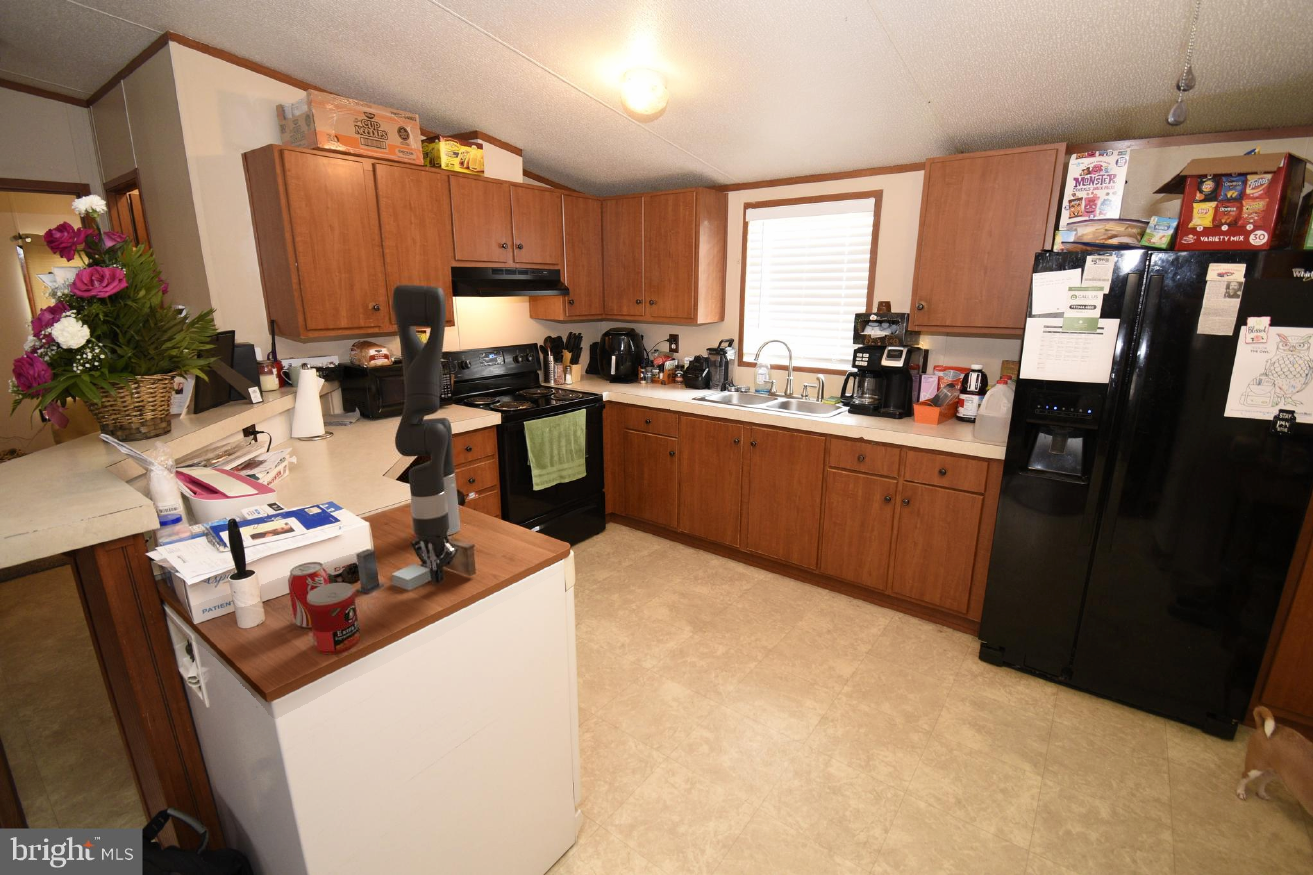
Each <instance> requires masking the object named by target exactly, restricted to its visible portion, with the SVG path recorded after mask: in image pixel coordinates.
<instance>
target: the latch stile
mask: <svg viewBox="0 0 1313 875" xmlns="http://www.w3.org/2000/svg"><path fill="white" fill-rule="evenodd" d="M355 556H356V561H357V569H358V576H359V578H358V579H359V584H360V586H359V587H357V588H355V591H357V592H360V593H363V594H366V595H369V594H371V593H374V592H376V591H377V590H379V589H381V588H384V587H385V583H381V582H380V580H379V579H380V578H379V573H378V572H379V571H378V566H377V564H378V563H377V558H376V551H375V550H373V549H369V548H367V549H365V550H362V551H360V552H357V553H356V554H355Z"/></svg>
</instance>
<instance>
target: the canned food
mask: <svg viewBox="0 0 1313 875" xmlns="http://www.w3.org/2000/svg"><path fill="white" fill-rule="evenodd" d="M307 603H308V610H309V616H310V622H311V627H310V628H311V634H312V638H313V645H314V648H315V649H316V650H318V651H319V653H320V652H321V653H320V654H323V653H331V654H330V655H333V654H332V653H335V654H339V652H340V653H342V652H346V651H348V650H350V649H351V648H353V647H354V646H356V645H357V643H358V642H359V641H360V635H361V632H360V625H359V618H358V612H357V611H358V610H357V604H356V598H355V591H354V587H353V585H351V584H350V583H346V582H333V583H329V584H327V585H323V586H321V587H318V588H316V589H314V590H312V591H311V592H310V593H309V594H308V595H307ZM349 648H350V649H349ZM347 649H348V650H347ZM318 651H317V652H318Z"/></svg>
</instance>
